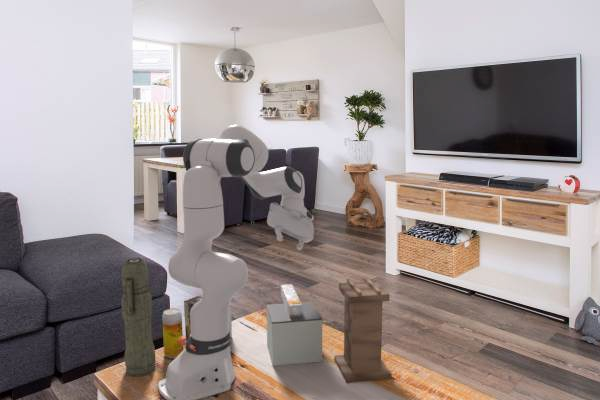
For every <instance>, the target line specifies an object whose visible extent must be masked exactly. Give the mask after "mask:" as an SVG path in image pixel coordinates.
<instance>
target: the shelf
mask: <svg viewBox="0 0 600 400" xmlns="http://www.w3.org/2000/svg"><path fill="white" fill-rule="evenodd" d="M301 303H302V317H291V318H290V317H289V315H288V312H287V310H286V307H285V305H284V302H283V303H272V304H268V303H267V304H266V341H267V342H266V345H267V349H268V353H269V357H270V361H271V365H272V367H276V366H277V367H278V366H287V365H297V364H307V363H318V362H319V363H320V362H323V317H322V315H321V313H320V311H319V310H318V308H317V307H316V305H315V303H314V302H313V301H311V300H310V301H301Z"/></svg>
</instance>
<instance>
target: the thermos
mask: <svg viewBox="0 0 600 400" xmlns="http://www.w3.org/2000/svg"><path fill="white" fill-rule="evenodd" d="M149 279H150V278H149V268H148V265H147V262H146V260H145V259H143V258H141V257H140V258H139V257H136V258H135V257H134V258H129V259H126V260H125V261H123V263H122V268H121V285H122V289H123V290H122V297H121V301H120V303H121V316H122V318H121V319H122V320H123V321H124V322H123V323H124V336H125V337H124V338H125V350H124V363H125V364H124V365H125V372H126V374H127V375H128V376H131V377H143V376H146V375H149V374H151V373H153V372H154V370H156V350H155V345H154V342H153V341H154V340H153V327H152V326H153V325H152V316H153V314H154V313H153V297H152V295H151V292H150V288H149V285H150V282H149V281H150V280H149Z"/></svg>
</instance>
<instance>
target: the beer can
mask: <svg viewBox="0 0 600 400" xmlns="http://www.w3.org/2000/svg"><path fill="white" fill-rule="evenodd" d="M182 317H183V315H182V312H181V310H180V309H179V308H168V309H165V310H164V311H163V314H162V317H161V318H162V332H163V333H162V336H163V337H162V338H163V352H164V356H166V358H169V359H175V358H176V357H177V356H178V355H179V354H180V353H181V352H182V351H183V350H184V345H182V344H181V343H179V339H180V337H182V336H183V335H184V334H183V318H182ZM183 337H184V336H183Z"/></svg>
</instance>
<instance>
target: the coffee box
mask: <svg viewBox="0 0 600 400" xmlns="http://www.w3.org/2000/svg"><path fill="white" fill-rule="evenodd" d="M202 297H203V296H199V295H196V296H195V297H191V298H188V299H186V300H184V301H183V307H184V309H183V310H184V311H183V312H184V327H185V328H184V329H185V338H186V339H187V340H188V338H189V335H190V333H191V327H190V310H191V308H192V307H193V305H194V304H195V303H196V302H198V301H200V300H202Z"/></svg>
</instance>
